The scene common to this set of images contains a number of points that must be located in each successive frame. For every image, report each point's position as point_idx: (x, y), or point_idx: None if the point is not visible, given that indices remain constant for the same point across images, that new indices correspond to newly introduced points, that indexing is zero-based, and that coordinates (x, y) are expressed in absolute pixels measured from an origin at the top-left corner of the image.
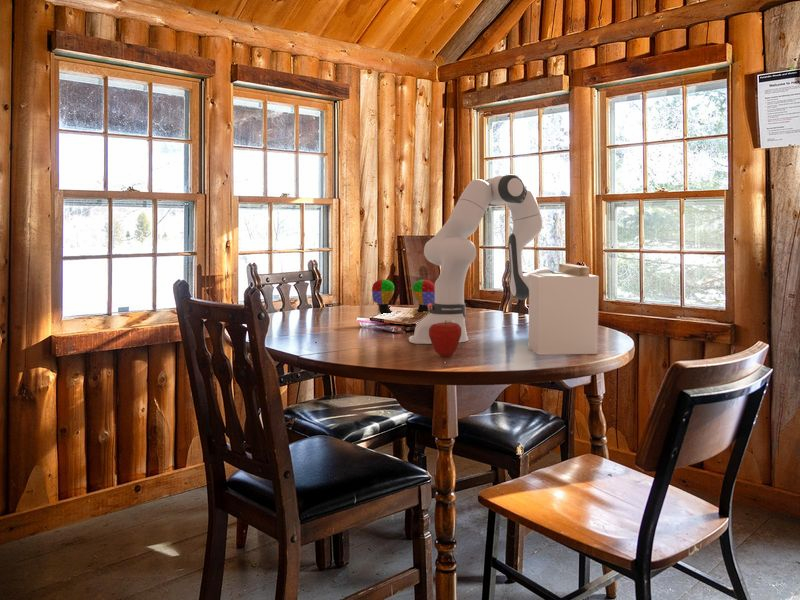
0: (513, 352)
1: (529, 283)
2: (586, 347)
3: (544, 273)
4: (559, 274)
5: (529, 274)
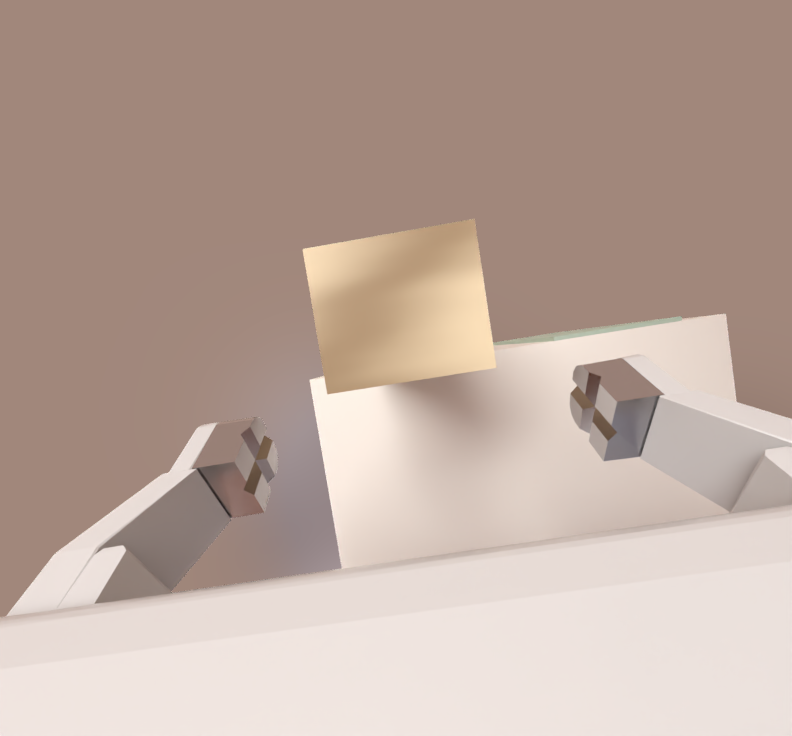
0: None
1: (725, 380)
2: None
3: (607, 328)
4: (499, 347)
5: (720, 316)
